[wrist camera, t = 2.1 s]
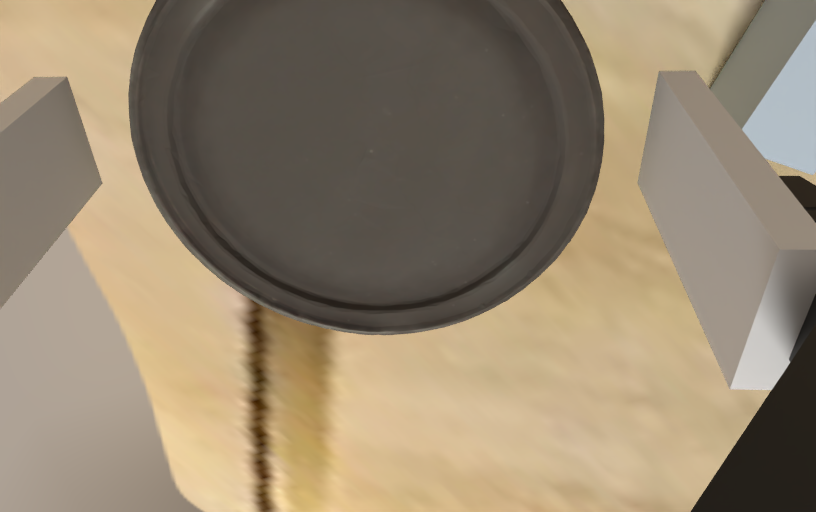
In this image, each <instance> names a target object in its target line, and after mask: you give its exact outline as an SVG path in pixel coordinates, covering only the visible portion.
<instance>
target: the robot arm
mask: <svg viewBox="0 0 816 512" xmlns="http://www.w3.org/2000/svg"><path fill="white" fill-rule="evenodd" d="M101 184H102V181H101V178H100V175H99V172H98V169H97V166H96V163H95V160H94V157H93V154H92V151H91V148H90V145H89V141H88V138H87V135H86V132H85V129H84V126H83V123H82V120H81V117H80V114H79V111H78V108H77V105H76V102H75V99H74V96H73V93H72V90H71V87H70V84H69V81H68V78H67V77H34V78H32V79H31V80H30V81H29V82H27V83H26V84H25V85H23V86H22V87H21V88H19V89H18V90H17V91H16V92H14V93H13V94H12V95H10V96H9V97H8V98H7V99H5V100H4V101H3V102H1V103H0V309H1V308H2V306H3V305H4V304H5V303H6V301H7V300H8V299H9V298H10V296H11V295H12V294H13V293H14V292H15V290H16V289H17V288H18V287H19V285H20V284H21V283H22V282H23V280H24V279H25V278H26V277H27V276H28V274H29V273H30V271H32V269H33V268H34V267H35V266H36V264H37V263H38V262H39V260H40V259H41V258H42V257H43V255H45V253H46V252H47V251H48V250H49V248H50V247H51V246H52V245H53V243H54V242H55V241H56V240H57V239H58V237H59V236H60V235H61V234H62V232H63V231H64V230H65V228H66V227H67V226H68V225H69V224H70V223H71V221H72V220H73V219H74V218H75V216H76V215H77V214H78V213H79V211H80V210H81V209H82V208H83V206H84V205H85V204H86V203H87V202H88V200H89V199H90V198H91V197H92V195H93V194H94V193H95V192H96V190H97V189H98V188H99V187H100V186H101ZM638 185H639V187H640V189H641V192H642V194H643V196H644V198H645V201H646V203H647V205H648V207H649V210H650V212H651V214H652V216H653V219H654V221H655V223H656V225H657V227H658V230H659V232H660V234H661V236H662V239H663V241H664V243H665V245H666V248H667V250H668V252H669V254H670V257H671V259H672V261H673V263H674V266H675V268H676V270H677V272H678V274H679V277H680V279H681V281H682V283H683V286H684V288H685V290H686V292H687V295H688V297H689V299H690V301H691V304H692V306H693V308H694V310H695V312H696V315H697V317H698V319H699V321H700V324H701V326H702V328H703V330H704V333H705V335H706V337H707V339H708V342H709V344H710V346H711V348H712V351H713V353H714V355H715V357H716V359H717V362H718V364H719V366H720V368H721V371H722V373H723V375H724V377H725V380H726V382H727V384H728V386H729V389H742V390H772V391H771V392H770V393H769V395H768V396H767V398H766V399H765V401H764V402H763V404H762V405H761V407H760V408H759V410H758V411H757V413H756V414H755V416H754V417H753V419H752V420H751V422H750V423H749V425H748V426H747V428H746V429H745V431H744V432H743V434H742V435H741V437H740V438H739V440H738V441H737V443H736V444H735V446H734V447H733V449H732V450H731V452H730V453H729V455H728V456H727V458H726V459H725V461H724V462H723V464H722V465H721V467H720V468H719V470H718V471H717V473H716V474H715V476H714V477H713V479H712V480H711V482H710V483H709V485H708V486H707V488H706V489H705V491H704V492H703V494H702V495H701V497H700V498H699V500H698V501H697V503H696V504H695V506H694V507H693V509H692V510H691V512H816V186H815V185H814V184H812V183H810V182H809V181H807V180H805V179H804V178H802V177H800V176H778V175H777V173H776V172H775V171H774V170H773V168H772V167H771V166H770V165H769V163H768V162H767V161H766V159H765V158H764V157H763V156H762V154H761V153H760V152H759V151H758V149H757V148H756V147H755V146H754V144H753V143H752V142H751V140H750V139H749V138H748V137H747V135H746V134H745V133H744V132H743V130H742V129H741V128H740V127H739V125H738V124H737V123H736V122H735V120H734V119H733V118H732V116H731V115H730V114H729V113H728V111H727V110H726V109H725V108H724V106H723V105H722V104H721V103H720V101H719V100H718V99H717V98H716V96H715V95H714V94H713V92H712V91H711V90H710V89H709V87H708V86H707V85H706V84H705V82H704V81H703V80H702V79H701V77H700V76H699V75H698V74H697V72H696V71H659V74H658V79H657V84H656V89H655V95H654V100H653V105H652V110H651V115H650V121H649V126H648V131H647V136H646V141H645V147H644V152H643V157H642V162H641V167H640V172H639V178H638Z"/></svg>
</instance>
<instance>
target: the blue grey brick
mask: <svg viewBox="0 0 816 512" xmlns="http://www.w3.org/2000/svg"><path fill="white" fill-rule="evenodd" d="M710 90H711V91H712V92H713V94H714V95H715V96H716V98H717V99H718V100H719V101H720V103H721V104H722V105H723V106H724V108H725V109H726V110H727V111H728V113H729V114H730V115H731V116H732V118H733V119H734V120H735V122H736V123H737V124H738V125H739V127H740V128H741V129H742V130H743V132H744V133H745V134H746V135H747V137H748V138H749V139H750V140H751V142H752V143H753V144H754V146H755V147H756V148H757V149H758V151H759V152H760V153H761V154H762V156H763V157H764V158H765V159H768V160H771V161H774V162H777V163H780V164H782V165H785V166H788V167H791V168H794V169H797V170H800V171H802V172H805V173H808V174H811V175H813V174H814V173H815V172H816V0H765V1H764V2H763V4H762V6H761V7H760V9H759V11H758V12H757V14H756V15H755V17H754V19H753V20H752V22H751V23H750V25H749V27H748V28H747V30H746V31H745V33H744V35H743V36H742V38H741V40H740V41H739V43H738V44H737V46H736V48H735V49H734V51H733V52H732V54H731V56H730V57H729V59H728V60H727V62H726V64H725V65H724V67H723V68H722V70H721V72H720V73H719V75H718V77H717V78H716V80H715V81H714V83H713V85H712V86H711V88H710Z"/></svg>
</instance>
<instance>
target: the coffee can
mask: <svg viewBox="0 0 816 512" xmlns="http://www.w3.org/2000/svg"><path fill="white" fill-rule="evenodd" d="M129 118H130V128H131V137H132V142H133V146H134V150H135V154H136V157H137V161H138V164H139V167H140V170H141V173H142V176H143V178H144V181H145V183H146V185H147V187H148V189H149V192H150V194H151V196H152V198H153V200H154V202H155V204H156V206H157V208H158V209H159V211H160V212H161V214H162V216H163V217H164V219H165V221H166V222H167V223H168V225H169V226H170V228H171V229H172V230H173V232H174V233H175V234H176V236H177V237H178V238H179V239H180V241H181V242H182V243H183V244H184V246H185V247H186V248H187V249H188V250H189V251H190V252H191V253H192V254H193V255H194V256H195V257H196V258H197V259H198V260H199V261H200V262H201V263H202V264H203V265H204V266H205V267H206V268H208V269H209V270H210V271H211V272H212V273H213V274H215V275H216V276H217V277H218V278H219V279H220V280H222V281H223V282H225V283H226V284H227V285H229V286H230V287H232V288H233V289H235V290H236V291H238V292H239V293H241V294H243V295H244V296H246V297H248V298H249V299H251V300H253V301H255V302H256V303H258V304H260V305H262V306H264V307H266V308H268V309H270V310H273V311H275V312H277V313H279V314H281V315H284V316H286V317H289V318H292V319H294V320H297V321H300V322H303V323H307V324H310V325H315V326H318V327H322V328H326V329H332V330H336V331H341V332H348V333H356V334H364V335H396V334H408V333H416V332H423V331H428V330H433V329H438V328H443V327H446V326H450V325H453V324H456V323H460V322H463V321H466V320H468V319H470V318H473V317H475V316H477V315H480V314H482V313H484V312H486V311H488V310H490V309H492V308H494V307H496V306H497V305H499V304H501V303H503V302H505V301H507V300H508V299H510V298H511V297H513V296H514V295H515V294H517V293H518V292H520V291H521V290H523V289H524V288H525V287H526V286H528V285H529V284H530V283H531V282H532V281H534V280H535V279H536V278H537V277H539V276H540V275H541V274H542V273H543V272H544V271H545V270H546V269H547V268H548V267H549V266H550V265H551V264H552V263H553V262H554V261H555V260H556V259H557V258H558V256H559V255H560V254H561V252H562V251H563V250H564V248H565V247H566V246H567V244H568V243H569V242H570V241H571V239H572V238H573V236H574V234H575V233H576V231H577V229H578V228H579V226H580V224H581V222H582V220H583V219H584V217H585V215H586V213H587V211H588V208H589V205H590V203H591V200H592V197H593V195H594V192H595V189H596V185H597V182H598V178H599V173H600V168H601V163H602V156H603V147H604V111H603V101H602V92H601V88H600V84H599V80H598V76H597V73H596V69H595V66H594V63H593V60H592V57H591V54H590V51H589V49H588V47H587V45H586V43H585V40H584V38H583V36H582V34H581V33H580V31H579V29H578V27H577V25H576V23H575V22H574V20H573V18H572V16H571V15H570V13H569V12H568V10H567V9H566V7H565V5H564V4H563V2H562V1H561V0H156V2H155V4H154V6H153V8H152V10H151V11H150V13H149V15H148V17H147V20H146V22H145V25H144V27H143V30H142V32H141V35H140V37H139V40H138V43H137V46H136V49H135V53H134V58H133V63H132V67H131V74H130V85H129Z"/></svg>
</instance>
